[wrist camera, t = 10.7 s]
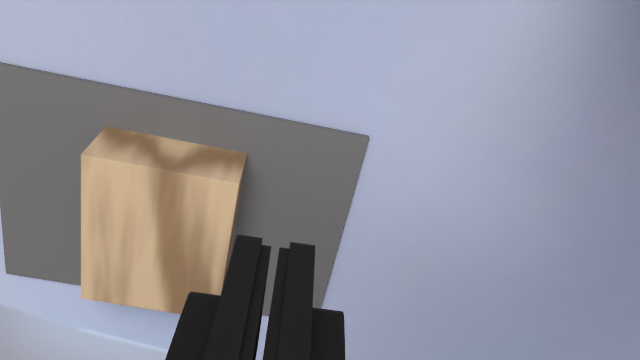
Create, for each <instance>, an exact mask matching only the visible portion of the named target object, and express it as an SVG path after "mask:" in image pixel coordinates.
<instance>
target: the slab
mask: <svg viewBox="0 0 640 360" xmlns="http://www.w3.org/2000/svg"><path fill="white" fill-rule="evenodd" d="M246 159H247V153H243V152H238V151H233V150H228V149H222V148H217V147H212V146H207V145H202V144H196V143H191V142H186V141H181V140H175V139H170V138H165V137H160V136H155V135H149V134H144V133H139V132H134V131H128V130H123V129H118V128H113V127H108V126H106V127H105V128H104V129H103V130H102V131H101V133H100V134H99V135H98V136H97V137H96V138H95V139H94V140H93V141H92V143H91V144H90V145H89V146H88V147H87V148H86V149H85V150H84V151H83V153H82V154H81V298H83V299H89V300H95V301H102V302H108V303H114V304H120V305H127V306H133V307H139V308H146V309H152V310H158V311H165V312H171V313H177V314H181V313H182V310H183V308H184V305H185V302H186V299H187V297H188V294H189V293H190V291H191V292H199V293H206V294H214V295H221V292H222V288H223V285H224V281H225V277H226V273H227V270H228V266H229V261H230V255H231V249H232V243H233V237H234V231H235V225H236V219H237V213H238V207H239V201H240V195H241V189H242V183H243V177H244V171H245V165H246Z"/></svg>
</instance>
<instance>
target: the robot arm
mask: <svg viewBox="0 0 640 360" xmlns="http://www.w3.org/2000/svg"><path fill="white" fill-rule="evenodd" d="M270 253H271V246H267V245H262V238H259V237H252V236H245V235H238V234H237V237H236V240H235V244H234V247H233V251H232V255H231V259H230V262H229V266H228V270H227V273H226V277H225V281H224V285H223V288H222V292H221V295H214V294H206V293H199V292H191V291H190V293H189V294H188V297H187V299H186V302H185V305H184V308H183V310H182V313H181V316H180V319H179V322H178V325H177V328H176V331H175V333H174V336H173V339H172V342H171V345H170V348H169V351H168V354H167V357H166V359H165V360H255V359H256V352H257V346H258V339H259V332H260V325H261V318H262V311H263V303H264V296H265V289H266V282H267V275H268V268H269V260H270ZM314 267H315V245H309V244H302V243H295V242H290V246H289V248H282V247H279V254H278V261H277V268H276V274H275V281H274V288H273V294H272V301H271V308H270V315H269V321H268V328H267V335H266V342H265V348H264V355H263V360H345V335H344V314H343V312H342V311H334V310H327V309H319V308H313V288H314Z"/></svg>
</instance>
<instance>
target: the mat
mask: <svg viewBox="0 0 640 360" xmlns="http://www.w3.org/2000/svg"><path fill="white" fill-rule="evenodd" d="M106 126H108V127H113V128H118V129H123V130H128V131H134V132H139V133H144V134H149V135H155V136H160V137H165V138H170V139H175V140H181V141H186V142H191V143H196V144H202V145H207V146H212V147H217V148H222V149H228V150H233V151H238V152H243V153H247V159H246V165H245V171H244V177H243V183H242V189H241V195H240V201H239V207H238V213H237V219H236V225H235V231H234V237H233V243H232V249H231V255H232V251H233V247H234V244H235V240H236V237H237V234H238V235H245V236H252V237H259V238H262V245H267V246H271V253H270V260H269V268H268V275H267V282H266V289H265V296H264V303H263V311H262V315H268V316H269V315H270V308H271V301H272V294H273V288H274V281H275V274H276V268H277V261H278V254H279V247H282V248H289V246H290V242H295V243H302V244H309V245H315V267H314V288H313V308H319V309H321V306H322V302H323V299H324V295H325V292H326V288H327V285H328V281H329V277H330V274H331V270H332V267H333V263H334V260H335V256H336V253H337V249H338V246H339V242H340V239H341V235H342V232H343V228H344V225H345V221H346V218H347V214H348V211H349V207H350V204H351V200H352V197H353V193H354V190H355V186H356V183H357V179H358V176H359V172H360V169H361V165H362V161H363V158H364V154H365V151H366V147H367V144H368V140H369V136H367V135H361V134H356V133H351V132H346V131H341V130H336V129H331V128H326V127H321V126H316V125H311V124H306V123H301V122H296V121H291V120H286V119H281V118H276V117H271V116H266V115H261V114H256V113H251V112H246V111H241V110H236V109H231V108H226V107H221V106H216V105H211V104H206V103H201V102H196V101H191V100H186V99H181V98H176V97H171V96H166V95H161V94H156V93H151V92H146V91H141V90H136V89H131V88H126V87H121V86H116V85H111V84H106V83H101V82H96V81H91V80H86V79H81V78H76V77H71V76H66V75H61V74H56V73H51V72H46V71H41V70H36V69H31V68H26V67H21V66H16V65H11V64H6V63H1V62H0V208H1V219H2V231H3V243H4V254H5V266H6V273H7V274H13V275H19V276H25V277H32V278H38V279H44V280H50V281H56V282H63V283H69V284H75V285H81V154H82V153H83V151H84V150H85V149H86V148H87V147H88V146H89V145H90V144H91V143H92V141H93V140H94V139H95V138H96V137H97V136H98V135H99V134H100V133H101V131H102V130H103V129H104V128H105V127H106ZM231 255H230V259H231ZM229 262H230V261H229Z"/></svg>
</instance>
